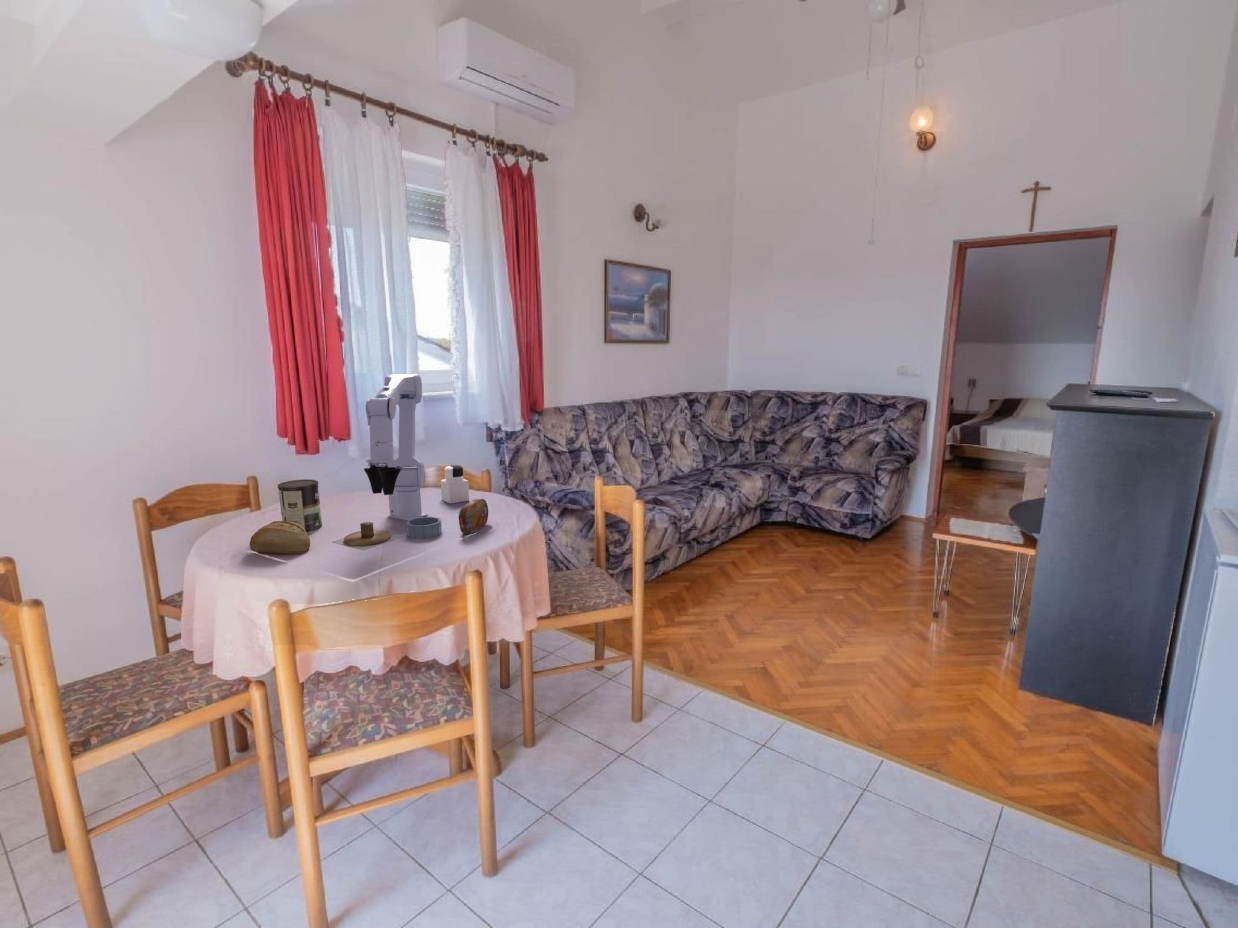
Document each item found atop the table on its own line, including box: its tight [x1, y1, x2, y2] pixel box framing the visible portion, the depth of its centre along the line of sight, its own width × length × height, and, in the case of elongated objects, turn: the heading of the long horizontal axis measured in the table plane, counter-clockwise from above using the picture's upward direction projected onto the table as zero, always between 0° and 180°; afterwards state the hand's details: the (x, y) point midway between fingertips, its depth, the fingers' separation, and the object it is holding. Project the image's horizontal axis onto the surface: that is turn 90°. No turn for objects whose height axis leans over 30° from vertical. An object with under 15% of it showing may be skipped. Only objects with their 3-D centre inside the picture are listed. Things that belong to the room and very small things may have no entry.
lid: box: [343, 521, 392, 546], centre depth 167 cm, size 12×12×4 cm
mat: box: [332, 533, 404, 551], centre depth 168 cm, size 13×13×1 cm
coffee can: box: [277, 478, 323, 534], centre depth 175 cm, size 10×10×14 cm
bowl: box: [406, 516, 443, 540], centre depth 173 cm, size 9×9×4 cm
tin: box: [458, 498, 489, 535], centre depth 177 cm, size 15×3×8 cm, turn 168°
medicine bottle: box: [440, 464, 470, 505], centre depth 209 cm, size 7×7×12 cm
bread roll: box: [249, 520, 311, 555], centre depth 158 cm, size 10×15×8 cm, turn 90°
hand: (382, 494), depth 163 cm, fingers open, 7 cm apart
